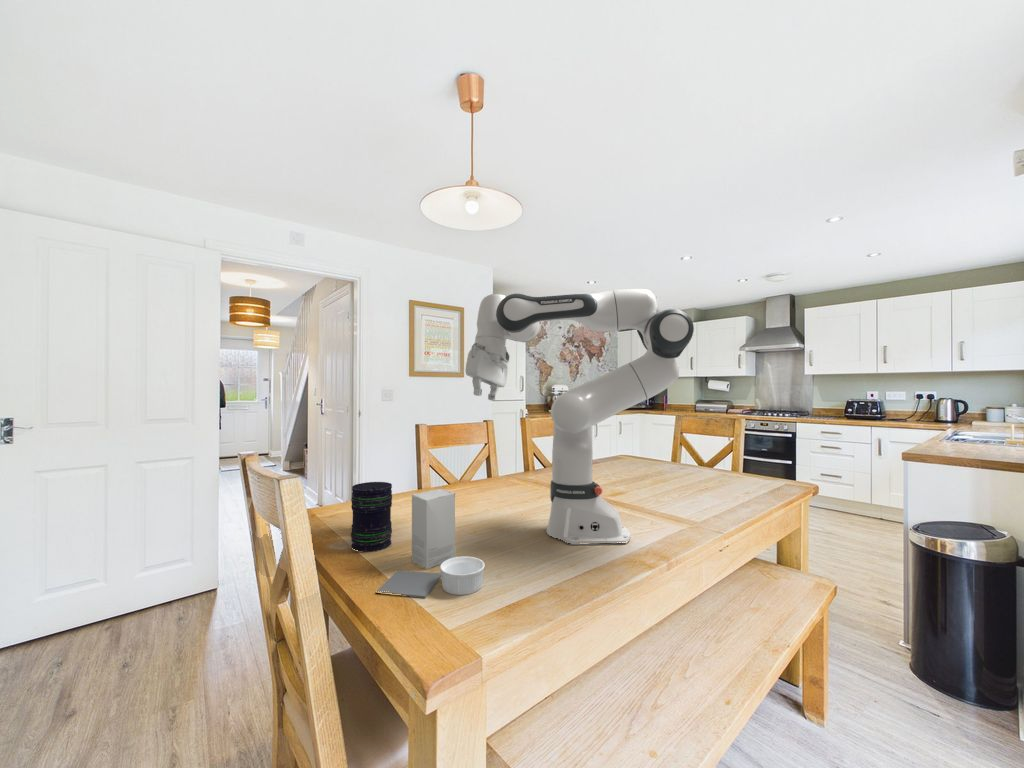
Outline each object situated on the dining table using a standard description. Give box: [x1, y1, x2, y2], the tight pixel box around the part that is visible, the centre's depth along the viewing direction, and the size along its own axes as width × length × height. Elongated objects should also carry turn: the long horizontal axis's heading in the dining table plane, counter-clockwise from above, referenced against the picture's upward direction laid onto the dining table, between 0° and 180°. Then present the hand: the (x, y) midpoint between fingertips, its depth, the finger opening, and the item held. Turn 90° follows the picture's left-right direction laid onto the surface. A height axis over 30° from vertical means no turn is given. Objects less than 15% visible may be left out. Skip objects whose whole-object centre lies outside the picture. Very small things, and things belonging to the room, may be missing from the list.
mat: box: [376, 569, 442, 599], centre depth 84 cm, size 10×10×1 cm
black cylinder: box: [350, 481, 393, 553], centre depth 106 cm, size 10×10×15 cm
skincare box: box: [411, 488, 456, 570], centre depth 96 cm, size 8×7×16 cm
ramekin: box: [439, 555, 486, 596], centre depth 84 cm, size 9×9×4 cm
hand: (484, 398), depth 118 cm, fingers open, 8 cm apart
